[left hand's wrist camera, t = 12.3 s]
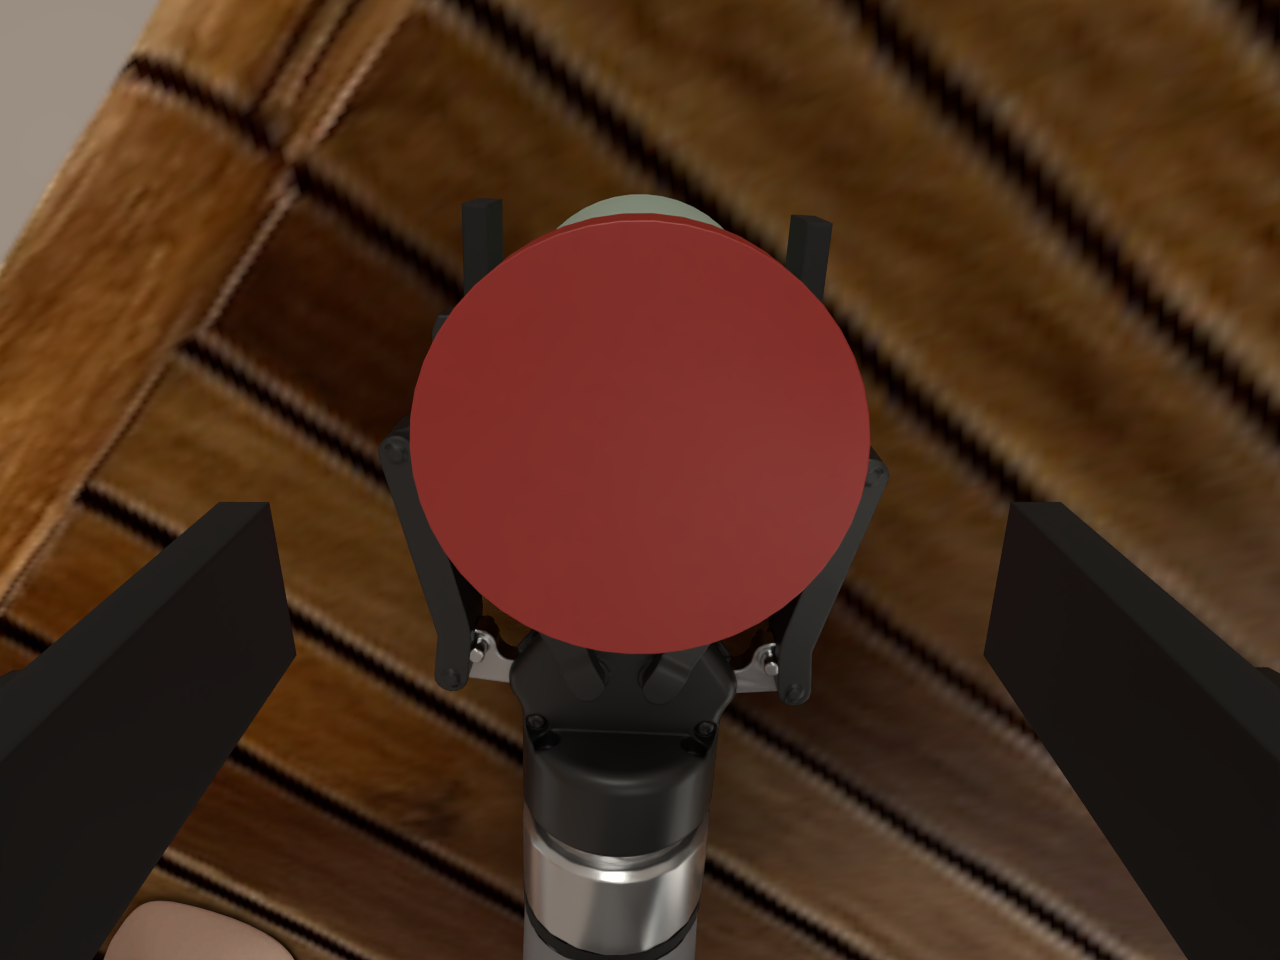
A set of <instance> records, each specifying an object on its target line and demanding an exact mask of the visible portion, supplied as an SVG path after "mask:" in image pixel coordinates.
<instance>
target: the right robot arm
mask: <svg viewBox="0 0 1280 960" xmlns="http://www.w3.org/2000/svg"><path fill="white" fill-rule="evenodd" d="M832 224H833V223H830V222H828V221H825V220H823V219H821V218H818V217H816V216H806V215H791V221H790V230H789V239H788V248H787V257H786V266H785V268H786V269H787V270H789V271H790V272H791V273H792V274H793V275H794V276H796V277H797V278H798V279H799V280H800V281H801V282H803V284H804V285H805V286H806V287H807V288H808V289H809V290H810V291H811V292H812V293H813V294H814V295H815V296H816V297H817V299H818V300H819V301H820V302H821V303H822V301H823V293H824V285H825V278H826V270H827V262H828V255H829V247H830V240H831V232H832ZM462 231H463V268H464V296H465V295H466V294H467V293H468V292H469V291H470V290H471V289H472V288H473V286H474V285H475V284H477V283H478V282H479V281H480V280H481V279H482V278H484V277H485V276H486V275H487V274H488V273H489V272H491V271H492V270H493V269H494V268H495V267H497V266H498V265H499V264H500V263H501V262H502V261H503V228H502V199H487V198H477V199H474V200H471V201H468V202H465V203H463V204H462ZM454 308H455V307H447V308H446V309H445V310H444V311H442V312H441V313H440V314H439V315H438V317H437V319H436V322H435V325H434V328H433V330H432V337H433V341H434V339H435V337H436V334H437V333H438V331H439V330H440V328H441V327H442V325H443V324H444V322H445V321H446V319H447V318H448V316H449V315H450V313H451V312H452V310H453V309H454ZM410 416H411V414H409V415H407V416H404V417H403V418H402V419H401V420H400V422H399V423H398V424H397V425H396V426H395V427H394V428H393V429H392V431H391V432H390V433H389V434H388V435H387V436H386V438H385V439H384V440H383V441H382V442H381V444H380V446H379V449H378V453H379V459H380V462H381V465H382V468H383V471H384V474H385V477H386V480H387V483H388V486H389V489H390V492H391V495H392V498H393V501H394V504H395V507H396V510H397V513H398V516H399V519H400V522H401V525H402V528H403V531H404V534H405V538H406V541H407V544H408V547H409V550H410V553H411V556H412V559H413V562H414V565H415V568H416V571H417V574H418V577H419V580H420V583H421V586H422V589H423V592H424V595H425V598H426V601H427V604H428V607H429V610H430V613H431V616H432V619H433V623H434V626H435V629H436V632H437V635H438V640H437V653H436V665H435V680H436V682H437V684H438V685H439V686H440V687H442V688H443V689H445V690H449V691H457V690H460V689H462V688H463V687H464V686H465V685H466V684H467V681H468V678H469V677H471V678H478V679H486V680H493V681H501V682H509V683H510V686H511V689H512V691H513V692H514V694H515V695H516V697H517V698H518V700H519V702H520V704H521V706H522V710H523V790H524V797H525V803H524V808H523V845H524V897H525V918H524V946H523V960H695V946H696V931H697V915H698V908H699V902H700V893H701V889H702V884H703V875H704V865H705V856H706V846H707V836H708V827H709V805H710V802H711V795H712V786H713V777H714V767H715V758H716V748H717V739H718V729H719V722H720V718H721V715H722V713H723V711H724V710H725V708H726V707H727V706H728V705H729V703H730V702H731V701H732V700H733V698H734V696H735V694H736V693H744V692H765V691H777V693H778V697H779V699H780V700H781V701H782V703H784V704H786V705H789V706H797V705H801V704H803V703H804V702H806V701H807V699H808V698H809V697H810V693H811V664H812V651H813V649H814V646H815V644H816V642H817V640H818V637H819V635H820V633H821V631H822V628H823V626H824V624H825V622H826V619H827V617H828V615H829V613H830V610H831V608H832V606H833V604H834V601H835V599H836V597H837V595H838V592H839V590H840V588H841V586H842V583H843V581H844V579H845V577H846V574H847V572H848V570H849V568H850V565H851V563H852V561H853V558H854V556H855V554H856V552H857V549H858V547H859V545H860V543H861V540H862V538H863V536H864V534H865V531H866V529H867V527H868V525H869V522H870V520H871V518H872V516H873V513H874V511H875V509H876V507H877V504H878V502H879V500H880V498H881V495H882V493H883V491H884V489H885V486H886V484H887V482H888V478H889V472H888V468H887V467H886V466H885V464H884V463H883V461H882V460H881V459H880V457H879V456H878V455H877V453H876V452H875V451H874V449H873V448H872V447H871V446H870V454H869V464H868V472H867V476H866V480H865V485H864V489H863V493H862V497H861V500H860V503H859V505H858V508H857V510H856V513H855V516H854V518H853V521H852V523H851V525H850V527H849V529H848V531H847V533H846V535H845V536H844V538H843V540H842V542H841V544H840V546H839V547H838V549H837V550H836V552H835V553H834V555H833V556H832V557H831V559H830V560H829V561H828V563H827V564H826V566H825V567H824V568H823V570H822V571H821V572H820V573H819V574H818V575H817V576H816V577H815V578H814V580H813V581H812V582H811V583H810V584H809V585H808V586H807V587H806V588H805V589H804V590H803V591H802V592H801V593H800V594H798V595H797V596H796V597H795V598H794V599H792V600H791V601H790V602H789V603H788V604H786V605H785V606H784V607H783V608H782V609H780V610H779V611H777V612H775V613H774V614H772V615H771V616H770V618H769V629H766V628H762V629H759V630H758V631H757V632H756V635H755V636H754V637H753V638H752V640H751V643H750V646H749V648H748V650H747V651H746V652H745V653H744V654H742V655H740V656H737V657H732V656H731V654H730V653H729V651H728V650H727V649H726V647H725V646H724V644H723V643H722V642H721V640H720V641H717V642H714V643H712V644H709V645H704V646H700V647H696V648H692V649H687V650H683V651H675V652H667V653H659V654H623V653H613V652H603V651H598V650H593V649H589V648H584V647H579V646H575V645H572V644H569V643H566V642H563V641H560V640H557V639H554V638H551V637H549V636H546V635H544V634H542V633H540V632H538V631H536V630H534V629H532V630H531V631H530V632H529V633H528V634H527V635H526V637H525V638H524V639H523V640H522V641H521V642H520V643H519V645H518V646H517V647H513V646H510V645H508V644H506V643H505V642H504V641H503V640H502V638H501V636H500V631H499V628H498V626H497V624H496V623H495V621H494V619H493V618H492V617H491V616H488V615H486V616H482V613H483V604H482V595H481V594H480V593H479V592H478V591H477V590H476V589H475V588H474V587H473V586H472V585H471V584H470V583H469V582H468V581H467V580H466V579H465V578H464V576H463V575H462V574H461V573H460V572H459V571H458V569H457V568H456V567H455V565H454V564H453V563H452V561H451V560H450V559H449V557H448V556H447V555H446V553H445V552H444V550H443V549H442V547H441V545H440V543H439V542H438V540H437V538H436V536H435V535H434V533H433V531H432V529H431V528H430V525H429V523H428V520H427V518H426V515H425V513H424V510H423V508H422V506H421V503H420V500H419V496H418V492H417V488H416V485H415V481H414V477H413V471H412V463H411V454H410Z"/></svg>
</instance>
